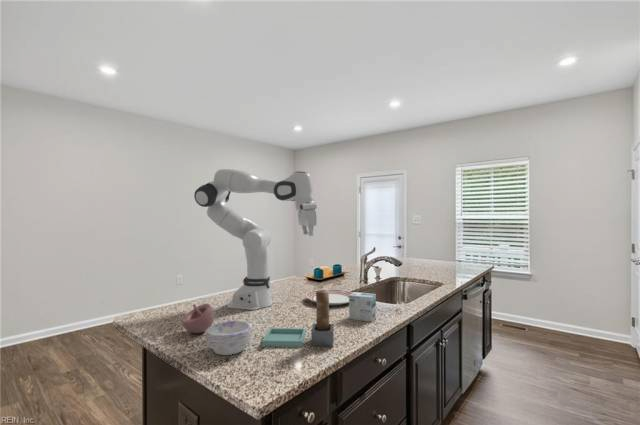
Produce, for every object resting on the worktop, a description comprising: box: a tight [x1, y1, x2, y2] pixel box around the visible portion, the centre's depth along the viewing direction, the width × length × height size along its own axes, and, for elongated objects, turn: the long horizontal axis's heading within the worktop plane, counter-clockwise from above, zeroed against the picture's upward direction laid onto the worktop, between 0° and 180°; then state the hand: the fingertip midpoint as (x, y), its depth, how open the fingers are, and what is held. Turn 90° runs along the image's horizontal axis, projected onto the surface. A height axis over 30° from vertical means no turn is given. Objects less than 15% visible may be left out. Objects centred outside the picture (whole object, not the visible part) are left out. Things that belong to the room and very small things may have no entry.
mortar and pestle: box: [181, 303, 215, 334], centre depth 125 cm, size 12×12×12 cm
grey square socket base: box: [310, 322, 335, 348], centre depth 113 cm, size 8×8×6 cm
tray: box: [261, 327, 307, 348], centre depth 116 cm, size 14×12×2 cm
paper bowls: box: [205, 320, 253, 356], centre depth 109 cm, size 15×15×8 cm
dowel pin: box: [315, 291, 330, 330], centre depth 113 cm, size 4×4×18 cm
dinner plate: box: [305, 288, 353, 307], centre depth 168 cm, size 27×27×3 cm
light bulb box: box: [348, 291, 377, 323], centre depth 139 cm, size 11×7×11 cm, turn 65°
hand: (308, 235), depth 148 cm, fingers open, 8 cm apart
